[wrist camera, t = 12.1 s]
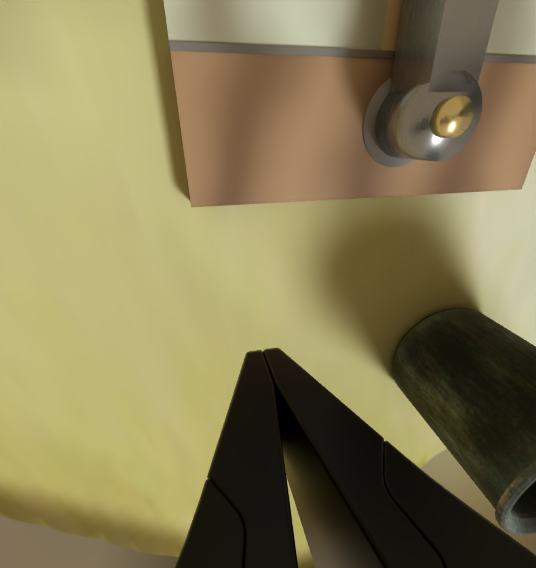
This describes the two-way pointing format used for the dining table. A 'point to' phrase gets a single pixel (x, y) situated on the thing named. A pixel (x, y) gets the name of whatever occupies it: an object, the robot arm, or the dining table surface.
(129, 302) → the dining table surface
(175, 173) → the dining table surface
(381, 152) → the door mock-up board
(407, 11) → the bar
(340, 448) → the robot arm
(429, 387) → the mug
